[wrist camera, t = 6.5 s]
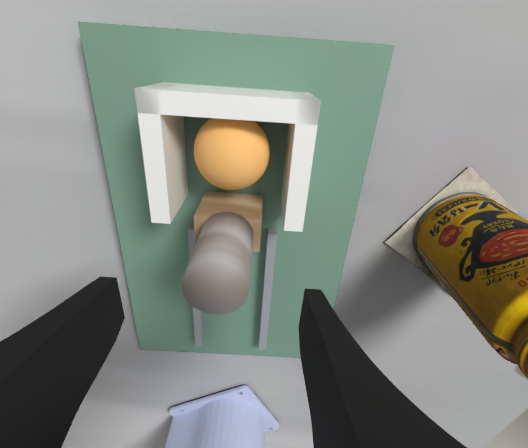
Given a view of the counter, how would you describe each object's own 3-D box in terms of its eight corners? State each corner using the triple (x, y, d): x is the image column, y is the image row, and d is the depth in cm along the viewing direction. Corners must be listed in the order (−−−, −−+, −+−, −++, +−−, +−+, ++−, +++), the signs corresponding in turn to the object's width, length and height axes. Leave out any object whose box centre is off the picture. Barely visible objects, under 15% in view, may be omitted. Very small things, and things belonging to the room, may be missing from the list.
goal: (296, 201, 20) (302, 231, 16) (172, 193, 20) (151, 222, 16) (309, 92, 17) (321, 101, 13) (162, 82, 16) (134, 88, 13)
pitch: (319, 347, 28) (323, 369, 26) (144, 338, 28) (135, 359, 26) (386, 46, 17) (401, 44, 15) (90, 24, 16) (66, 19, 14)
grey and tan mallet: (260, 227, 20) (256, 316, 13) (206, 224, 20) (174, 312, 13) (263, 188, 19) (260, 264, 12) (205, 185, 19) (168, 259, 12)
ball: (221, 87, 16) (226, 144, 19) (170, 127, 14) (184, 184, 17) (287, 115, 15) (279, 171, 18) (241, 163, 13) (242, 216, 16)
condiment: (468, 164, 20) (699, 284, 9) (539, 233, 22) (787, 392, 12) (383, 240, 23) (486, 399, 12) (454, 294, 25) (592, 467, 14)
